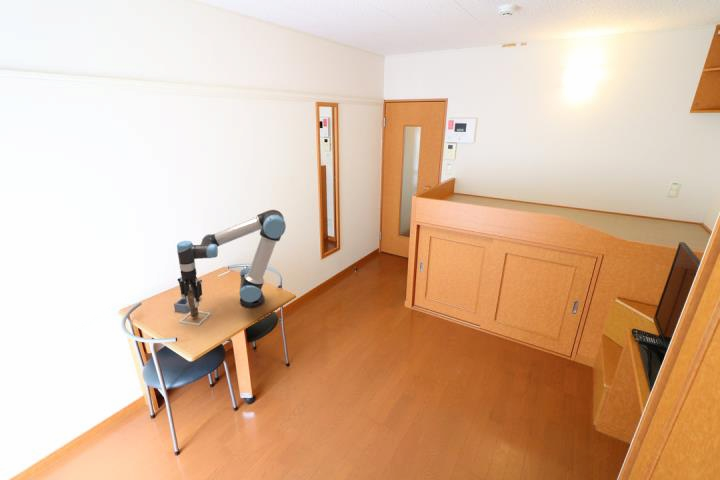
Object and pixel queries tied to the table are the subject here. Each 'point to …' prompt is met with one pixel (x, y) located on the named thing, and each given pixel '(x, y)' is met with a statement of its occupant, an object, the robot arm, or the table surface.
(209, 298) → the table surface
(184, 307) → the grey open box
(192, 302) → the dowel
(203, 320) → the tray
